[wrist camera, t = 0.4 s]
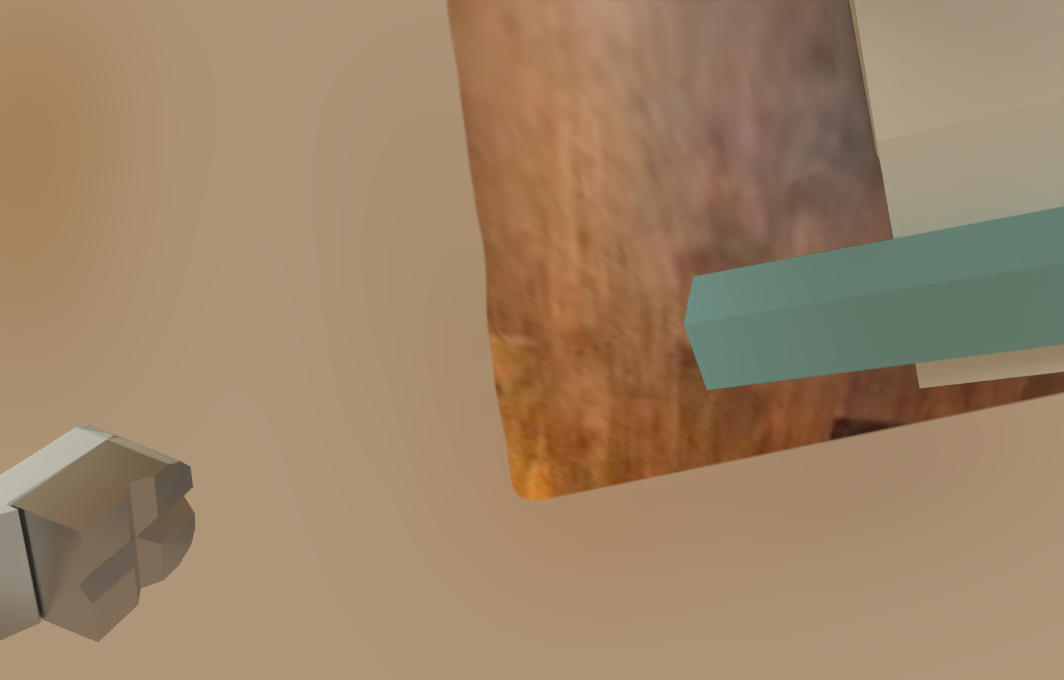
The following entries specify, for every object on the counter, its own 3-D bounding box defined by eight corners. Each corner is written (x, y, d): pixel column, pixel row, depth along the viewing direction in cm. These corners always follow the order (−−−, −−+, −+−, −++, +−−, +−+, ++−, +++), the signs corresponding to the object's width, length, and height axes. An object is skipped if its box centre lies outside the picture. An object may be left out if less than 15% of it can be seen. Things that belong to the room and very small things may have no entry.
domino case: (713, 339, 37) (706, 390, 34) (693, 276, 35) (683, 324, 32) (1279, 252, 28) (1328, 310, 26) (1289, 163, 26) (1343, 216, 24)
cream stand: (874, 144, 55) (913, 394, 36) (841, -43, 49) (866, 136, 29) (1132, 83, 49) (1349, 345, 30) (1132, -141, 43) (1408, 4, 23)
